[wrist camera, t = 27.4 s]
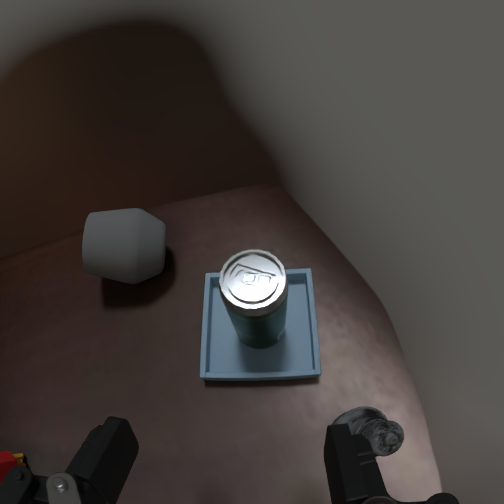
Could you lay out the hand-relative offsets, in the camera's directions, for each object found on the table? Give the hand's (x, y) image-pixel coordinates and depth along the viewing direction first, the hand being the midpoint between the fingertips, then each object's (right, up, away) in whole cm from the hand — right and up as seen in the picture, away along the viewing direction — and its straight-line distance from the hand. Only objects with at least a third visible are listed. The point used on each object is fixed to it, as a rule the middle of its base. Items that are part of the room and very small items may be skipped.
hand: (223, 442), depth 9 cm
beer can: (+2, -1, +22) cm, 22 cm away
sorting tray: (+2, -1, +22) cm, 23 cm away
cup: (-10, +8, +26) cm, 29 cm away
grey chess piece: (+12, -12, +15) cm, 22 cm away
